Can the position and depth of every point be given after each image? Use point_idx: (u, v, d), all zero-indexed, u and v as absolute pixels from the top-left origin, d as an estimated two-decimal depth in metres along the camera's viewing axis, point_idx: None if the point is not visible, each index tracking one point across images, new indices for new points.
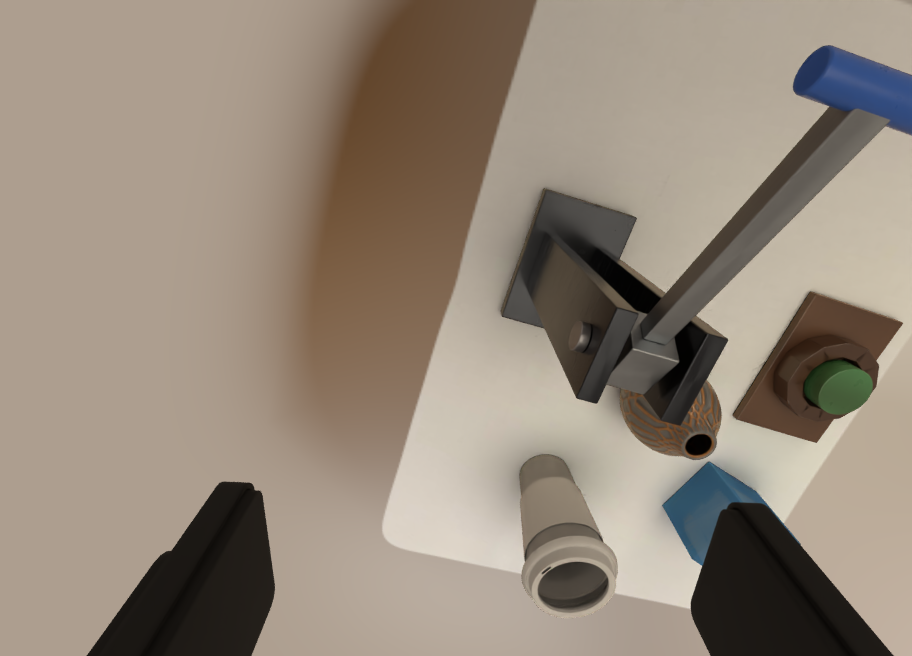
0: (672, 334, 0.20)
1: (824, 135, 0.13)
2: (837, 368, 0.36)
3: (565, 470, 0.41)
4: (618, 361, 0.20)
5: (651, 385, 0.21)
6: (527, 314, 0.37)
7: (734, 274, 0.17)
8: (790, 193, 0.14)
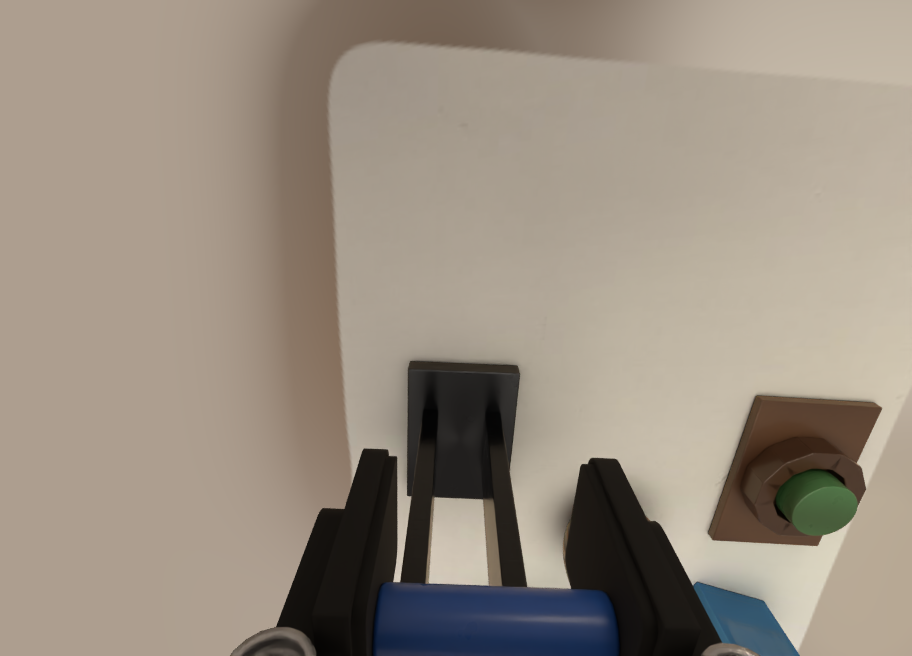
0: None
1: None
2: (807, 486, 0.30)
3: None
4: None
5: None
6: None
7: None
8: None
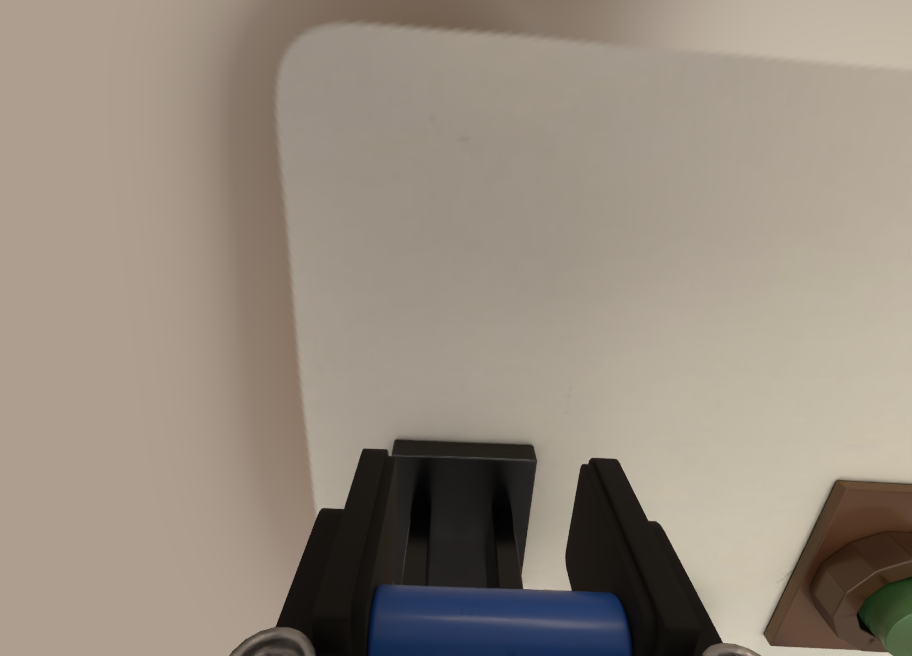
0: None
1: None
2: (906, 603, 0.23)
3: None
4: None
5: None
6: None
7: None
8: None
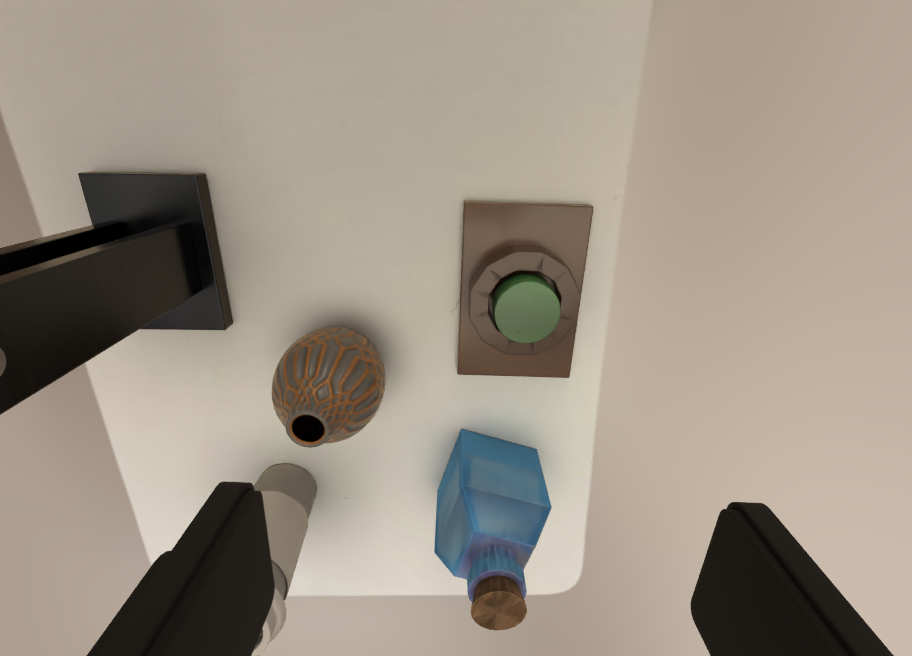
0: None
1: None
2: (506, 286, 0.28)
3: (287, 479, 0.36)
4: None
5: None
6: None
7: None
8: None
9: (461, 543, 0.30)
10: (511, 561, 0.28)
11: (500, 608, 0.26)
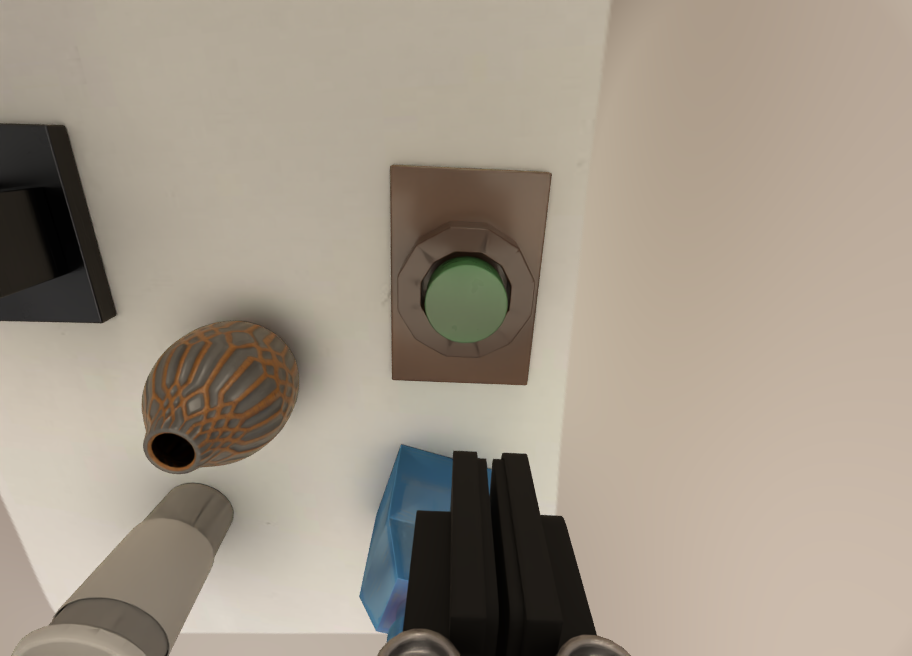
0: None
1: None
2: (440, 271, 0.22)
3: (191, 503, 0.30)
4: None
5: None
6: (3, 309, 0.25)
7: None
8: None
9: (384, 591, 0.24)
10: None
11: None
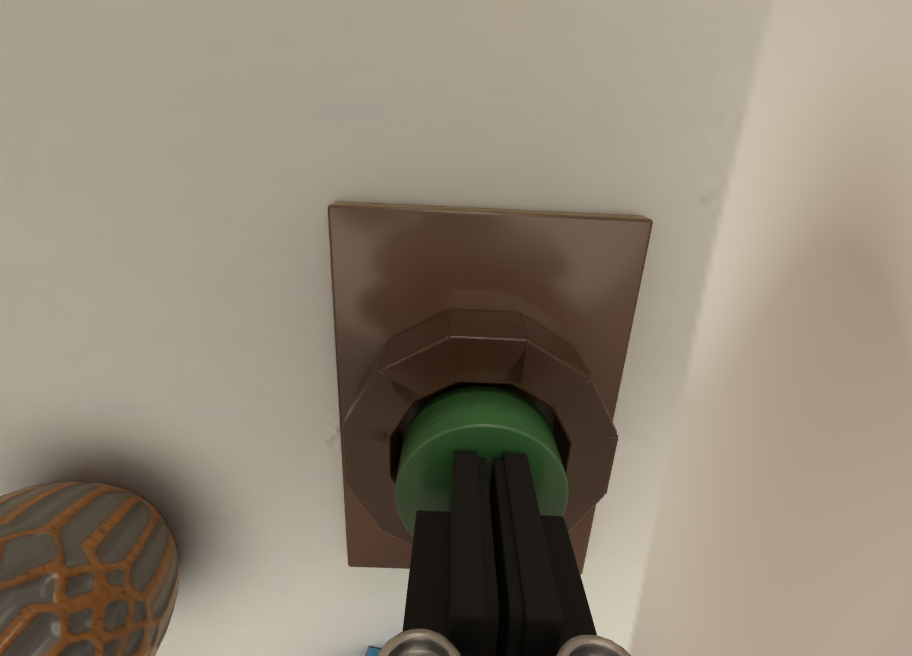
0: None
1: None
2: (426, 429, 0.11)
3: None
4: None
5: None
6: None
7: None
8: None
9: None
10: None
11: None
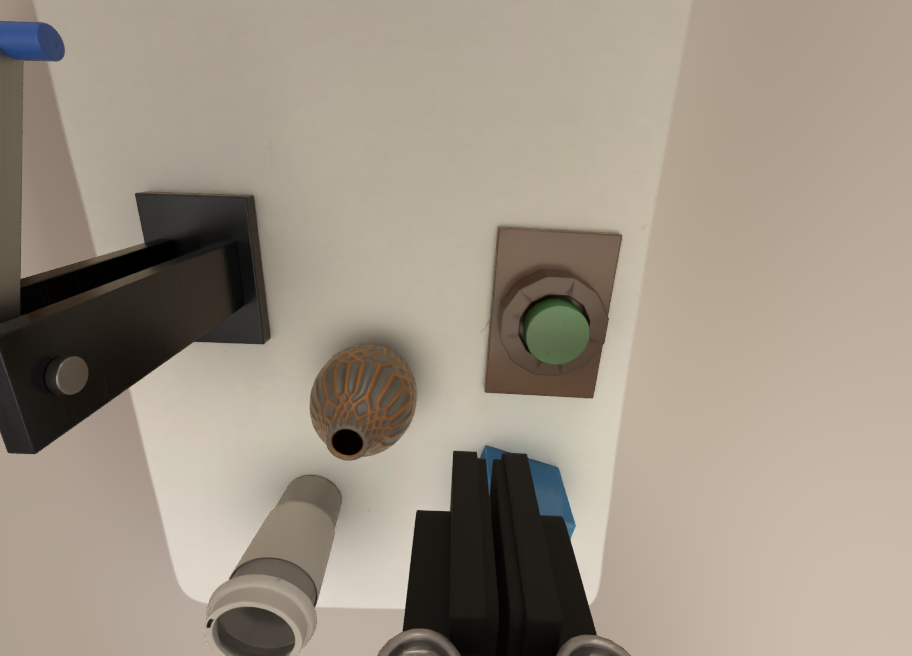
0: None
1: None
2: (538, 310, 0.29)
3: (315, 490, 0.36)
4: None
5: None
6: None
7: None
8: None
9: None
10: None
11: None
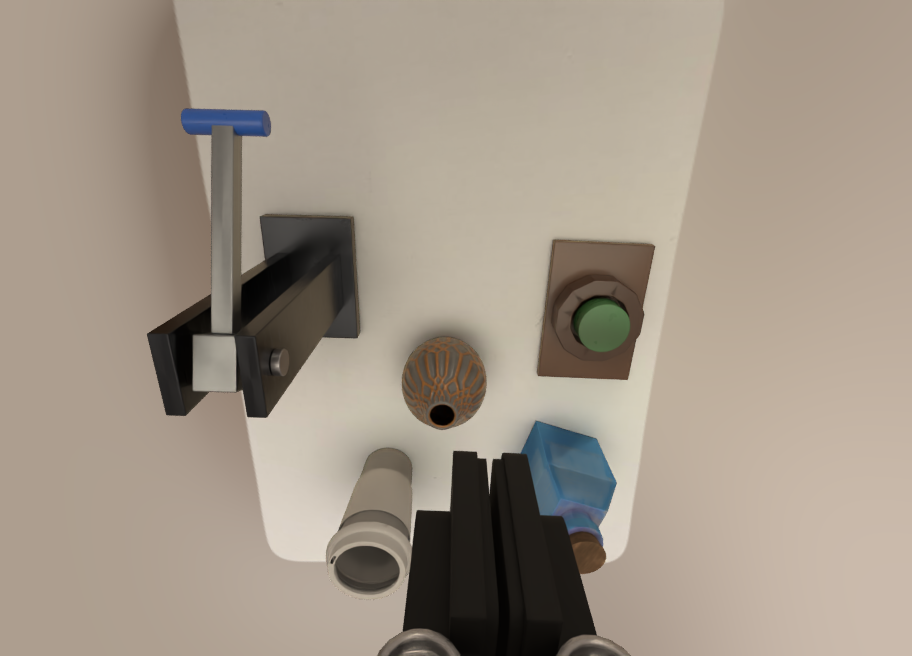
0: (228, 319, 0.23)
1: (212, 145, 0.23)
2: (588, 308, 0.36)
3: (394, 460, 0.43)
4: (193, 357, 0.23)
5: (233, 375, 0.23)
6: None
7: (230, 246, 0.23)
8: (217, 178, 0.23)
9: (547, 509, 0.38)
10: (591, 521, 0.36)
11: (585, 555, 0.34)
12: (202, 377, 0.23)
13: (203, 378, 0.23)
